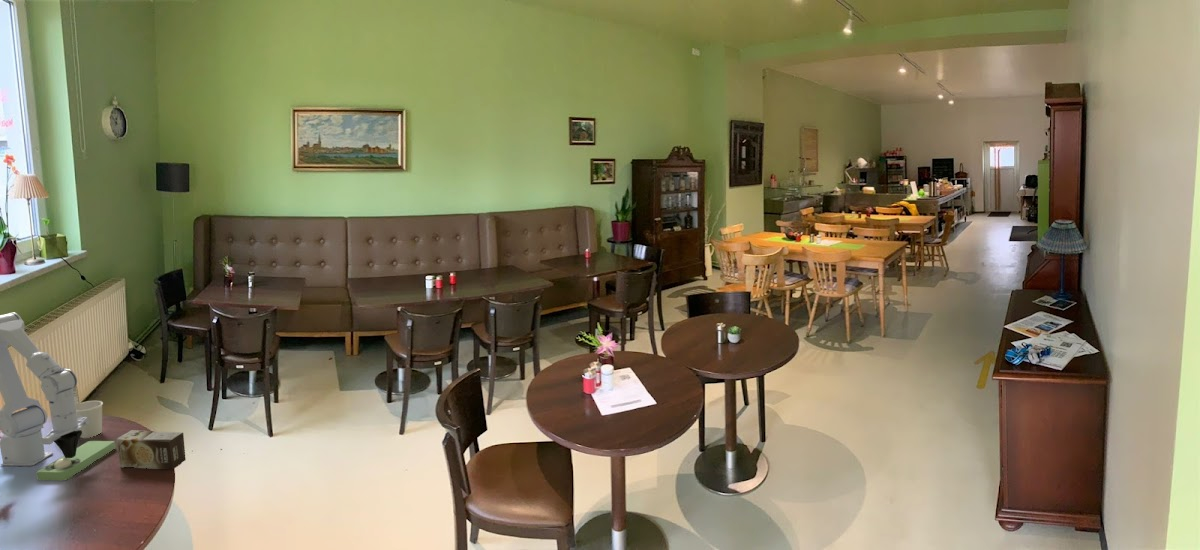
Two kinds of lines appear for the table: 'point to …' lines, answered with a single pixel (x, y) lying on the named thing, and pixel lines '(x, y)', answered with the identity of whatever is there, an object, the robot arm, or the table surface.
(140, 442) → the coffee box
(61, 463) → the ball
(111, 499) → the table surface
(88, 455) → the putting mat
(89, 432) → the dixie cup
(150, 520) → the table surface
